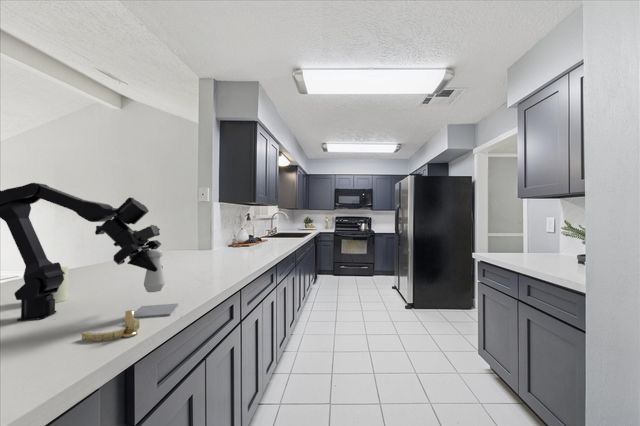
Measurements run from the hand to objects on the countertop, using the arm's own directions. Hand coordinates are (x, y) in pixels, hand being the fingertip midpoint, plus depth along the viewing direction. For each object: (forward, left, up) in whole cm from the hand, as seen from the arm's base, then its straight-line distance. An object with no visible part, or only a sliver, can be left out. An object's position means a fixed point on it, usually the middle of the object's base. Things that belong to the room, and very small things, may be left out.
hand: (159, 269), depth 91 cm
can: (-41, +23, -13) cm, 49 cm away
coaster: (-1, 0, -13) cm, 13 cm away
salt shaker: (-1, 0, -7) cm, 7 cm away
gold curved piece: (-5, -16, -13) cm, 21 cm away
